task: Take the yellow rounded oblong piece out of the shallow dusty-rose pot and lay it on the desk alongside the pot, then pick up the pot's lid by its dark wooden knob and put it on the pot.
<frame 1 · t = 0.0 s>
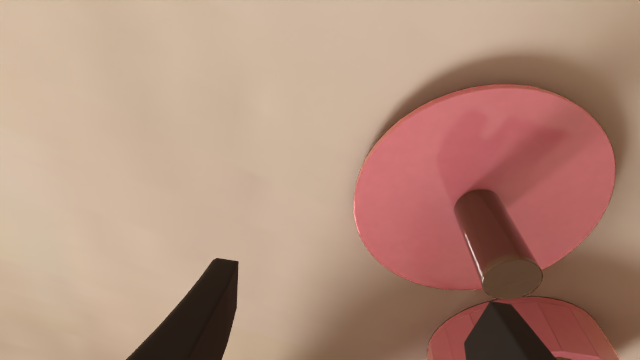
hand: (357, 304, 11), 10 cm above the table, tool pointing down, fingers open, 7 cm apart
lid: (474, 201, 20), point 1 cm above the table
pot: (509, 350, 28), on the table
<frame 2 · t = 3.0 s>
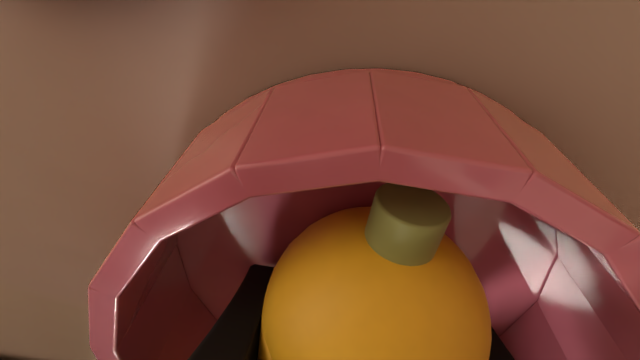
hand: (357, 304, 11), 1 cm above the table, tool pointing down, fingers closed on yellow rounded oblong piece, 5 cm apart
yellow rounded oblong piece: (356, 278, 11), resting on pot, touching gripper
pot: (358, 261, 12), on the table
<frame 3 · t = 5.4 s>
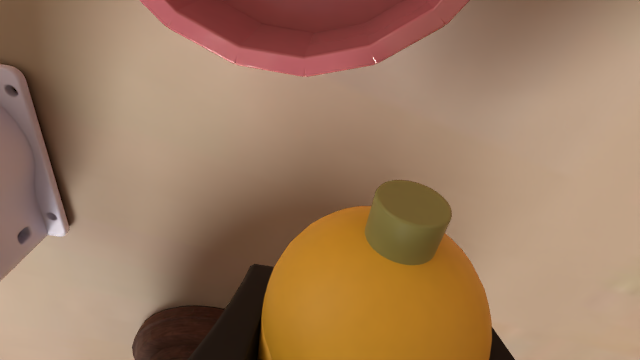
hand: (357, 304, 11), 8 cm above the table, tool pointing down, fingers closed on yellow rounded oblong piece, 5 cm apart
dark ball on stand: (215, 353, 27), on the table
yellow rounded oblong piece: (356, 277, 11), point 7 cm above the table, touching gripper
when the fingers open (1 cm above the table, at t = 7.7 s): yellow rounded oblong piece stays where it is, on the table.
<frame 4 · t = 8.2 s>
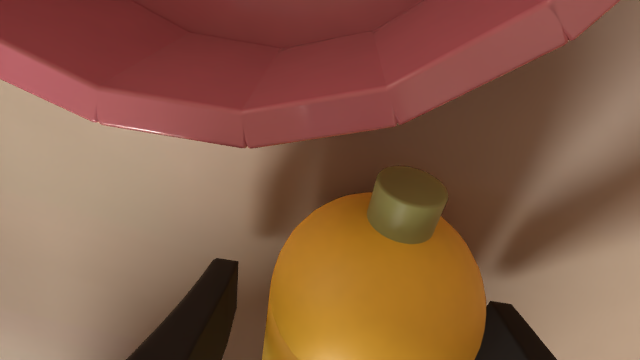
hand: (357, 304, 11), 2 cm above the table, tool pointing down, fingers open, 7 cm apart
yellow rounded oblong piece: (357, 264, 12), on the table
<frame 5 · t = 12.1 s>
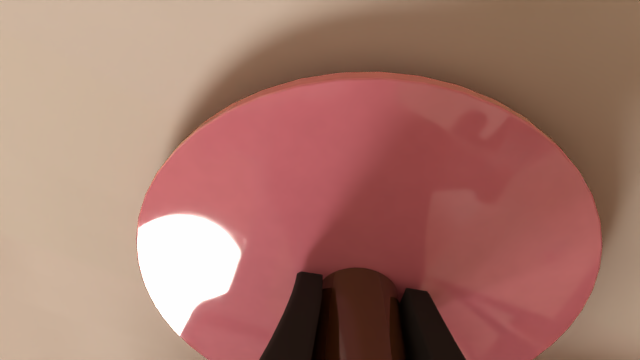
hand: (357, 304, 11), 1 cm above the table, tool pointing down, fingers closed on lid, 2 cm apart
lid: (356, 282, 11), point 1 cm above the table, touching gripper
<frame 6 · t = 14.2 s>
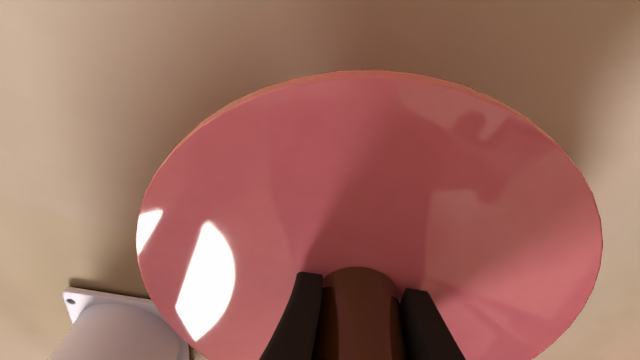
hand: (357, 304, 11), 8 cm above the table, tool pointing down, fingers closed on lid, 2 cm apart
lid: (356, 281, 11), point 8 cm above the table, touching gripper
when the fingers open (5 cm above the table, at t = 16.1 s): lid stays where it is, resting on pot.
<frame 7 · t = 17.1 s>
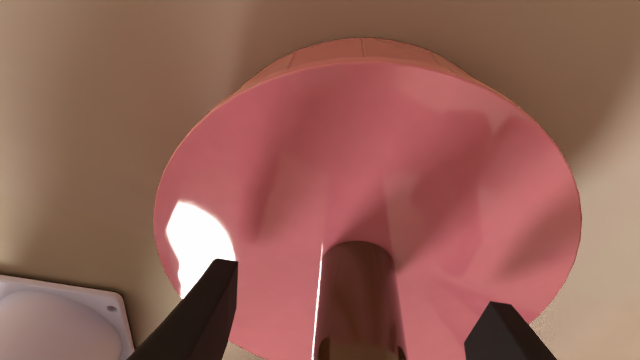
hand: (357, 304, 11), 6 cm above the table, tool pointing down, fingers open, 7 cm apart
lid: (356, 256, 12), point 4 cm above the table, touching pot
pot: (355, 189, 15), on the table
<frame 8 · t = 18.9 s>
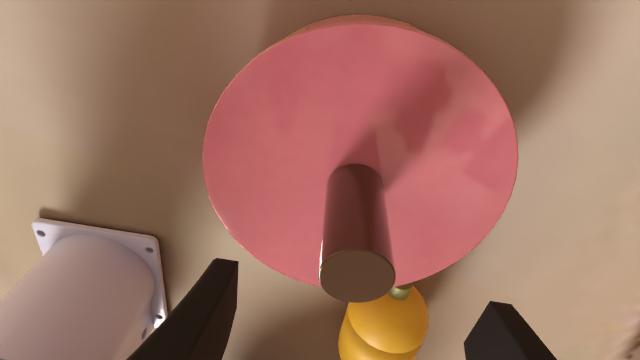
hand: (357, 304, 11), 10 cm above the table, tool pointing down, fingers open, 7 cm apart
lid: (354, 180, 16), point 4 cm above the table, touching pot
yellow rounded oblong piece: (375, 299, 26), on the table, tilted 5°
pot: (353, 140, 19), on the table
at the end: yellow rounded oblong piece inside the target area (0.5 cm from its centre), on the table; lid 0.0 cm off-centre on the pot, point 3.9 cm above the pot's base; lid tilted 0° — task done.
